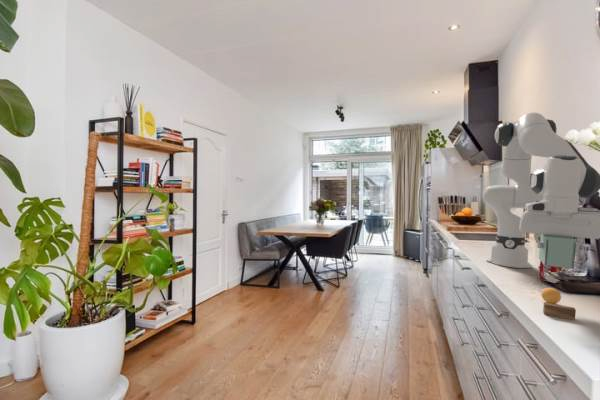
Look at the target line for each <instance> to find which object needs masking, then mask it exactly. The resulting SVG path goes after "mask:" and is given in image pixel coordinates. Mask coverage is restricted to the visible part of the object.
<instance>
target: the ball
mask: <svg viewBox="0 0 600 400" xmlns="http://www.w3.org/2000/svg"><path fill="white" fill-rule="evenodd" d="M541 298H542V299H543V301H545V303H550V304H558V303H559V302H560V301H561V300H562V299H561V298H562V295H561V293H560V292H559V290H557V289H556V288H554V287H546V288H544V289H543V290H542V291H541Z"/></svg>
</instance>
